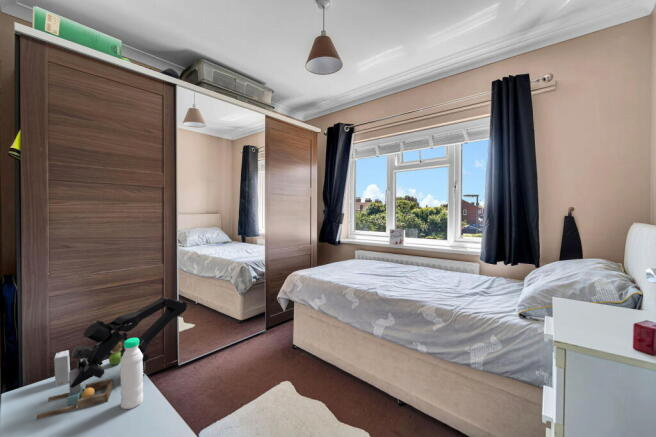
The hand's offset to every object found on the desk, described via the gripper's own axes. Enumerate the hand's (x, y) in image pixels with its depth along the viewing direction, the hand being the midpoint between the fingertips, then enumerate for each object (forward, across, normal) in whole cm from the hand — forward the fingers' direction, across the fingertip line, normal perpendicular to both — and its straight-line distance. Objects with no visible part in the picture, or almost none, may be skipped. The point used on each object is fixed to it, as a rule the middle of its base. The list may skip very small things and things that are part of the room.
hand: (70, 385), depth 105 cm
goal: (+4, 0, +7) cm, 7 cm away
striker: (+4, 0, +6) cm, 7 cm away
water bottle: (-6, +17, +16) cm, 24 cm away
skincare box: (+5, -20, +5) cm, 21 cm away
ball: (0, +1, +7) cm, 7 cm away
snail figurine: (-8, -19, +18) cm, 27 cm away
